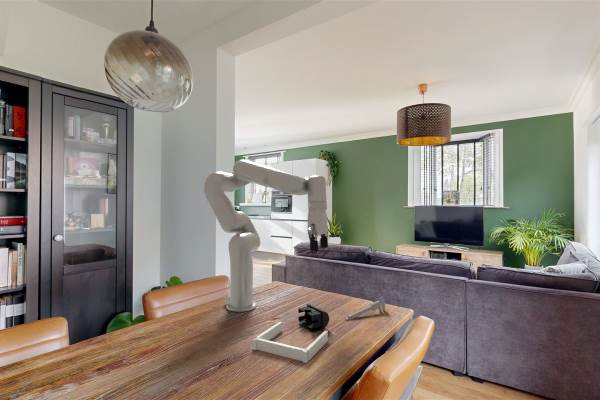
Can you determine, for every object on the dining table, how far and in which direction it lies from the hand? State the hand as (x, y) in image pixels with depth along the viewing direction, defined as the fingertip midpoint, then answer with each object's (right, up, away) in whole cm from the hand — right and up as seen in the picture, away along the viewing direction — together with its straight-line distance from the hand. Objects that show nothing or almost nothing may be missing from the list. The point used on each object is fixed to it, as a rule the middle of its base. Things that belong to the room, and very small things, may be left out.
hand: (319, 249), depth 123 cm
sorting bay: (-10, -26, -27) cm, 38 cm away
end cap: (-3, -26, -12) cm, 29 cm away
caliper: (+19, -27, -1) cm, 32 cm away
